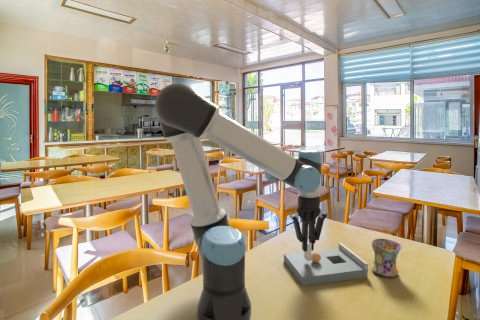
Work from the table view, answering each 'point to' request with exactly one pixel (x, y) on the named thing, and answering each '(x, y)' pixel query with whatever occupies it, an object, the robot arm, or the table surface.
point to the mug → (385, 257)
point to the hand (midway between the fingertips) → (307, 258)
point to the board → (327, 266)
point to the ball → (315, 257)
